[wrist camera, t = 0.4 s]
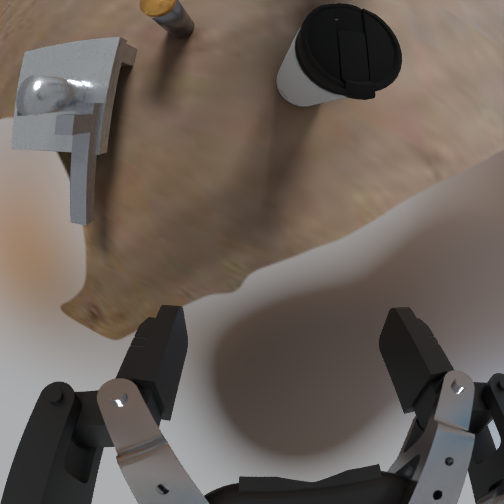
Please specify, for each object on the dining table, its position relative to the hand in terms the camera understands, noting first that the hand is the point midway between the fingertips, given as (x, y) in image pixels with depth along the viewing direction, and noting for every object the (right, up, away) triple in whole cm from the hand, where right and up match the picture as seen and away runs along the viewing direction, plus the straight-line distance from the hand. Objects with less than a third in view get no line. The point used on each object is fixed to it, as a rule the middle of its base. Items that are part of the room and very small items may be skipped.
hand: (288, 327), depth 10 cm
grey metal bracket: (-26, +21, +20) cm, 39 cm away
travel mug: (+5, +23, +19) cm, 30 cm away
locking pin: (-10, +30, +15) cm, 35 cm away
